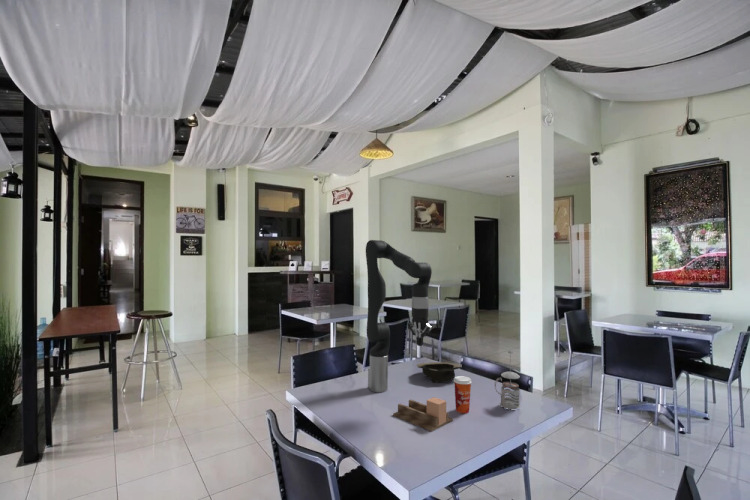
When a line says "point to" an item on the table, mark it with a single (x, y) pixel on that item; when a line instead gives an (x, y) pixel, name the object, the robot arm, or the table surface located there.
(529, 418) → the table surface
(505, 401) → the french press
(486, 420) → the table surface
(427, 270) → the robot arm
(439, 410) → the block
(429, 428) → the chute
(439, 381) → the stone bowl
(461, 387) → the paper cup
